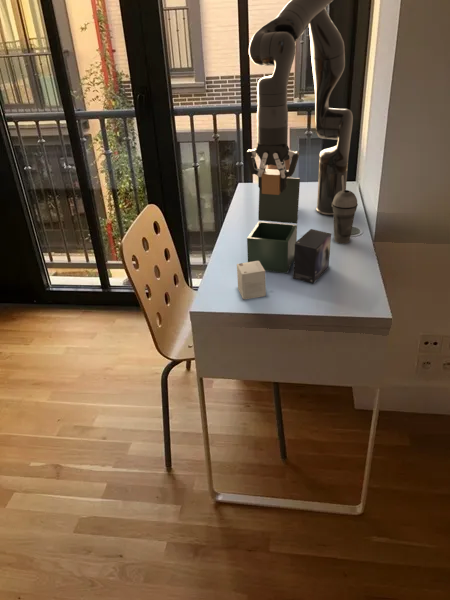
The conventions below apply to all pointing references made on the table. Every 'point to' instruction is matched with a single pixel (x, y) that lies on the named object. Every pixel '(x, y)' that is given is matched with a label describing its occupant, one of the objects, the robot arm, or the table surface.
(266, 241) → the bin
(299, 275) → the small box
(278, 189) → the carton
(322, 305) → the table surface
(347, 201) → the beverage cup
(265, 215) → the bin lid
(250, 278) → the white cardboard box
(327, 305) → the table surface
